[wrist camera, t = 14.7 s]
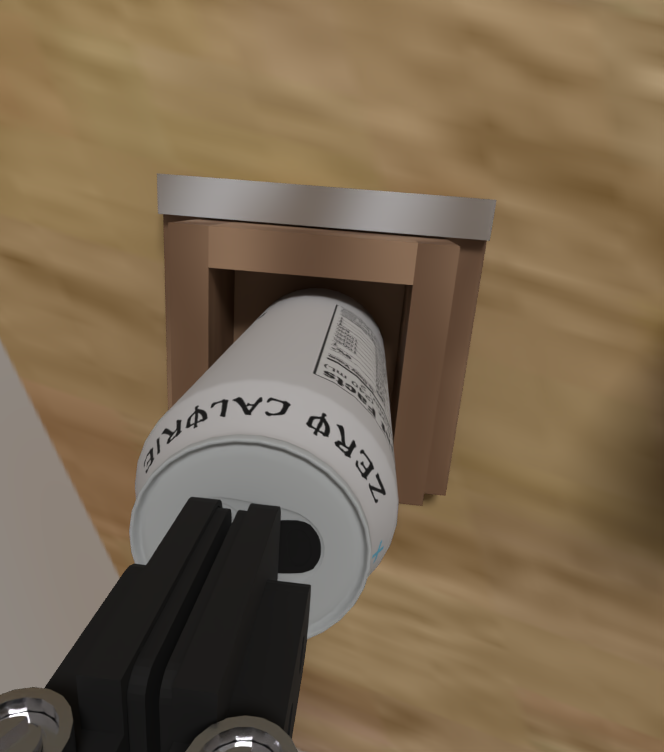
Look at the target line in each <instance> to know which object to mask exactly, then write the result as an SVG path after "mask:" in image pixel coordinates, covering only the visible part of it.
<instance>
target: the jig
mask: <svg viewBox="0 0 664 752" xmlns="http://www.w3.org/2000/svg"><path fill="white" fill-rule="evenodd" d="M157 190H158V214H163V217H164V258H165V299H166V340H167V381H168V410H169V409H170V408H171V407H172V406H173V405H174V404H175V403H176V402H177V401H178V400H179V399H180V398H181V397H182V396H183V395H184V394H185V393H186V392H187V391H188V390H189V389H190V388H191V387H192V386H193V385H194V383H195V382H196V381H197V380H198V379H199V378H200V377H201V376H202V375H203V374H204V373H205V372H206V371H207V370H208V369H209V368H210V367H211V366H212V365H213V364H214V363H215V362H216V361H217V360H218V359H219V358H220V357H221V356H222V355H223V354H224V352H225V351H226V350H227V349H228V348H229V347H230V346H231V345H232V344H233V343H234V342H235V341H236V340H237V339H238V338H239V337H240V336H241V335H242V334H243V333H244V332H245V331H246V330H247V329H248V328H249V327H250V326H251V325H252V324H253V323H254V321H255V320H256V319H257V318H258V317H259V316H260V315H261V314H262V313H263V312H264V311H265V310H266V309H267V308H268V307H269V306H270V305H271V304H272V303H274V302H275V301H276V300H278V299H280V298H281V297H283V296H284V295H286V294H289V293H292V292H294V291H297V290H302V289H308V288H323V289H329V290H333V291H337V292H340V293H342V294H344V295H347V296H349V297H351V298H352V299H354V300H355V301H356V302H358V303H359V304H361V305H362V306H363V307H364V308H365V309H366V310H367V311H368V312H369V314H370V315H371V316H372V317H373V319H374V321H375V322H376V324H377V326H378V327H379V330H380V333H381V336H382V338H383V344H384V351H385V360H386V371H387V382H388V392H389V403H390V414H391V425H392V435H393V446H394V457H395V468H396V478H397V489H398V500H399V502H398V503H401V504H410V505H420V506H422V504H423V497H424V493H426V494H435V495H446V489H447V483H448V477H449V470H450V464H451V458H452V452H453V446H454V440H455V433H456V427H457V421H458V415H459V409H460V402H461V396H462V390H463V384H464V378H465V372H466V365H467V359H468V353H469V347H470V341H471V334H472V328H473V322H474V316H475V310H476V304H477V297H478V291H479V285H480V279H481V273H482V267H483V260H484V254H485V248H486V242H487V240H488V241H490V236H491V230H492V224H493V218H494V211H495V205H496V200H490V199H477V198H464V197H451V196H438V195H426V194H413V193H400V192H387V191H374V190H361V189H348V188H336V187H323V186H310V185H297V184H284V183H271V182H259V181H246V180H233V179H220V178H207V177H194V176H182V175H169V174H157Z"/></svg>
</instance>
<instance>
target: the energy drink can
mask: <svg viewBox="0 0 664 752" xmlns="http://www.w3.org/2000/svg"><path fill="white" fill-rule="evenodd" d="M135 492H136V502H135V504H134V507H133V510H132V514H131V522H130V530H129V533H130V543H131V552H132V555H133V559H134V562H135V564H142V565H146V564H147V563H148V561H149V560H150V558H151V557H152V555H153V554H154V552H155V550H156V549H157V547H158V546H159V544H160V543H161V541H162V539H163V538H164V536H165V535H166V533H167V532H168V530H169V529H170V527H171V525H172V524H173V522H174V521H175V519H176V518H177V516H178V515H179V513H180V511H181V510H182V508H183V507H184V505H185V504H186V502H187V501H188V499H189V498H190V497H201V498H210V499H219V500H221V501H222V506H223V508H228V509H231V512H232V522H233V520H234V518H235V515H236V513H237V511H238V510H246V511H247V510H248V507H249V505H250V504H251V503H255V504H263V505H272V506H280V508H281V522H280V542H279V561H278V580H277V581H284V582H293V583H301V584H309V585H311V598H310V612H309V624H308V634H307V639H309V638H311V637H313V636H315V635H318V634H320V633H322V632H324V631H325V630H327V629H328V628H330V627H331V626H332V625H334V624H335V623H337V622H338V621H339V620H341V619H342V617H343V616H344V615H345V614H346V613H347V612H348V611H349V610H350V609H351V608H352V607H353V606H354V604H355V603H356V601H357V599H358V597H359V596H360V594H361V592H362V591H363V589H364V587H365V584H366V580H367V577H368V576H369V575H370V574H371V573H372V572H373V571H374V570H375V568H376V567H377V566H378V565H379V563H380V562H381V560H382V558H383V556H384V555H385V553H386V551H387V550H388V548H389V546H390V544H391V540H392V537H393V534H394V531H395V528H396V525H397V514H398V502H399V500H398V489H397V478H396V468H395V457H394V446H393V435H392V425H391V414H390V403H389V392H388V382H387V371H386V360H385V351H384V344H383V338H382V336H381V333H380V330H379V327H378V326H377V324H376V322H375V321H374V319H373V317H372V316H371V315H370V314H369V312H368V311H367V310H366V309H365V308H364V307H363V306H362V305H361V304H359V303H358V302H356V301H355V300H354V299H352V298H351V297H349V296H347V295H344V294H342V293H340V292H337V291H333V290H329V289H323V288H308V289H302V290H297V291H294V292H292V293H289V294H286V295H284V296H283V297H281V298H280V299H278V300H276V301H275V302H274V303H272V304H271V305H270V306H269V307H268V308H267V309H266V310H265V311H264V312H263V313H262V314H261V315H260V316H259V317H258V318H257V319H256V320H255V321H254V323H253V324H252V325H251V326H250V327H249V328H248V329H247V330H246V331H245V332H244V333H243V334H242V335H241V336H240V337H239V338H238V339H237V340H236V341H235V342H234V343H233V344H232V345H231V346H230V347H229V348H228V349H227V350H226V351H225V352H224V354H223V355H222V356H221V357H220V358H219V359H218V360H217V361H216V362H215V363H214V364H213V365H212V366H211V367H210V368H209V369H208V370H207V371H206V372H205V373H204V374H203V375H202V376H201V377H200V378H199V379H198V380H197V381H196V382H195V383H194V385H193V386H192V387H191V388H190V389H189V390H188V391H187V392H186V393H185V394H184V395H183V396H182V397H181V398H180V399H179V400H178V401H177V402H176V403H175V404H174V405H173V406H172V407H171V408H170V409H169V410H168V411H167V412H166V413H165V414H164V416H163V417H162V418H161V419H160V420H159V421H158V422H157V424H156V425H155V427H154V428H153V430H152V431H151V433H150V435H149V436H148V438H147V439H146V441H145V444H144V446H143V449H142V452H141V454H140V457H139V460H138V464H137V472H136V480H135Z"/></svg>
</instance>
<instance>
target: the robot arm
mask: <svg viewBox="0 0 664 752" xmlns="http://www.w3.org/2000/svg"><path fill="white" fill-rule="evenodd" d="M280 522H281V508H280V506H272V505H263V504H255V503H251V504H250V505H249V507H248V510H247V511H246V510H238V511H237V513H236V515H235V518H234V520H233V522H232V512H231V509H228V508H223V506H222V501H221V500H219V499H210V498H201V497H190V498H189V499H188V501H187V502H186V504H185V505H184V507H183V508H182V510H181V511H180V513H179V515H178V516H177V518H176V519H175V521H174V522H173V524H172V525H171V527H170V529H169V530H168V532H167V533H166V535H165V536H164V538H163V539H162V541H161V543H160V544H159V546H158V547H157V549H156V550H155V552H154V554H153V555H152V557H151V558H150V560H149V561H148V563H147V564H146V565H142V564H132V565H130V566H129V567H128V568H127V569H126V570H125V572H124V573H123V575H122V576H121V577H120V579H119V580H118V582H117V584H116V585H115V586H114V588H113V589H112V591H111V592H110V593H109V595H108V596H107V598H106V599H105V601H104V602H103V604H102V605H101V606H100V608H99V610H98V611H97V612H96V614H95V615H94V617H93V618H92V620H91V621H90V622H89V624H88V626H87V627H86V628H85V630H84V631H83V633H82V634H81V636H80V637H79V639H78V640H77V641H76V643H75V644H74V646H73V647H72V649H71V650H70V652H69V653H68V654H67V656H66V657H65V659H64V660H63V662H62V663H61V665H60V666H59V667H58V669H57V670H56V672H55V673H54V675H53V676H52V678H51V679H50V681H49V682H48V684H47V685H46V687H45V688H37V687H30V688H23V689H15V690H12V691H9V692H6V693H3V694H1V695H0V752H298V751H297V749H296V747H295V745H294V743H293V741H292V733H293V727H294V721H295V715H296V709H297V703H298V697H299V690H300V684H301V678H302V672H303V665H304V658H305V651H306V643H307V634H308V624H309V612H310V598H311V585H309V584H301V583H293V582H284V581H277V580H278V561H279V542H280Z"/></svg>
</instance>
